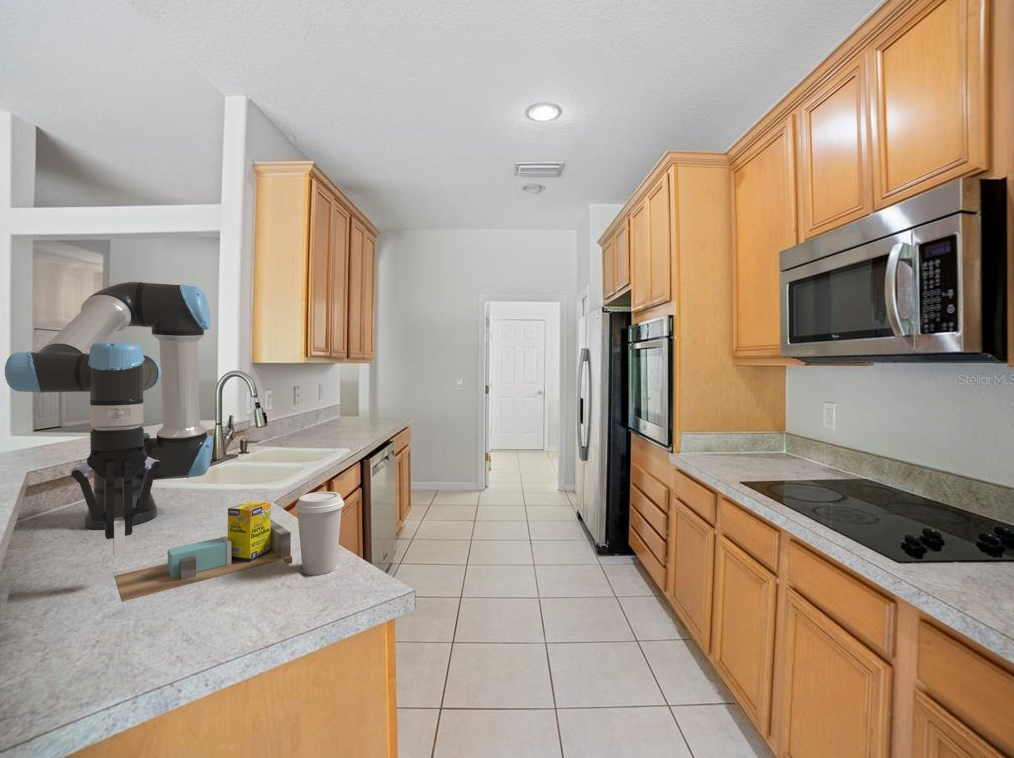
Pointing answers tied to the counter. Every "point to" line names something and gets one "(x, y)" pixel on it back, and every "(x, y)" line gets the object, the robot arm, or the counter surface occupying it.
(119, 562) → the counter surface
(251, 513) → the supplement box
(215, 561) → the teal rectangular block
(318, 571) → the coffee cup
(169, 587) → the rail base
